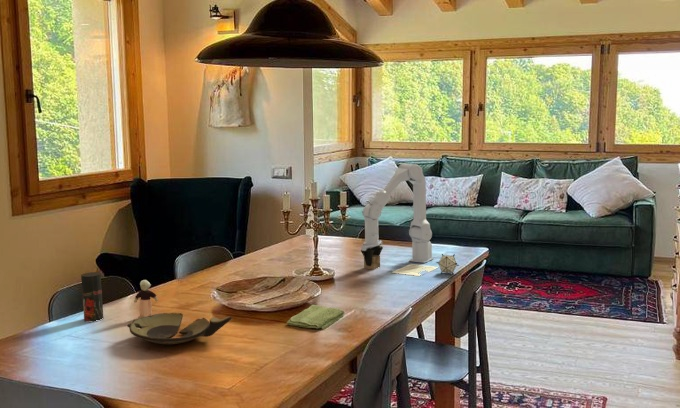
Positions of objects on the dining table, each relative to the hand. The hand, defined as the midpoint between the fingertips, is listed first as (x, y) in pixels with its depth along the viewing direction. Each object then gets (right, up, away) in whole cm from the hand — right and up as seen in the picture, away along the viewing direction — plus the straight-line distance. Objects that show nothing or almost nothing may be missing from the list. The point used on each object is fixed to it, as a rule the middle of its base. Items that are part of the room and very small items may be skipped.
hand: (372, 264), depth 284 cm
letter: (+18, -2, -6) cm, 19 cm away
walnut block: (0, -1, 0) cm, 1 cm away
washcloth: (-21, -12, -72) cm, 76 cm away
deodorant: (-94, -12, -66) cm, 116 cm away
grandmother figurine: (-77, -12, -66) cm, 102 cm away
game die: (+30, -3, -12) cm, 33 cm away
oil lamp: (-61, -15, -89) cm, 109 cm away
